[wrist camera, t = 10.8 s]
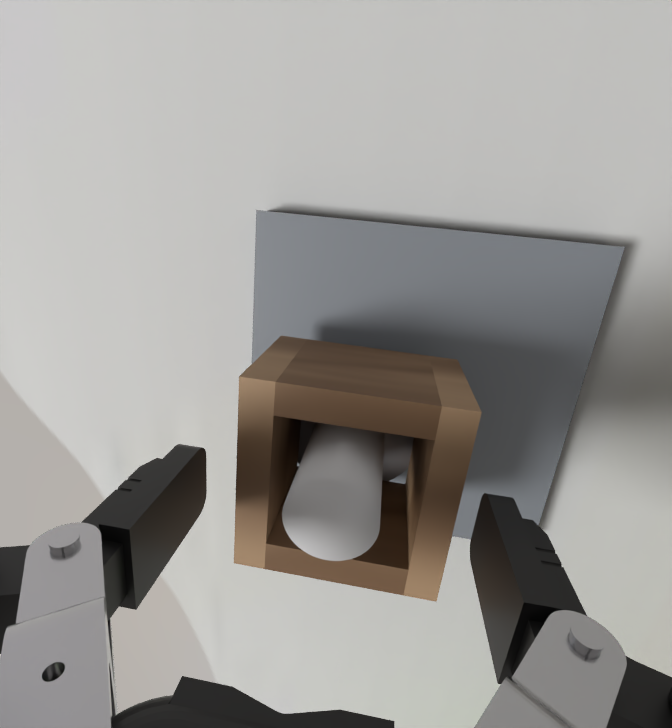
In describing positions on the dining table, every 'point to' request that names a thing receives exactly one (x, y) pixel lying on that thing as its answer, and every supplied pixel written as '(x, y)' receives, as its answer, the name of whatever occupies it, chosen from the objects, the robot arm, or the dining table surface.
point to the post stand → (431, 354)
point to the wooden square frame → (362, 411)
